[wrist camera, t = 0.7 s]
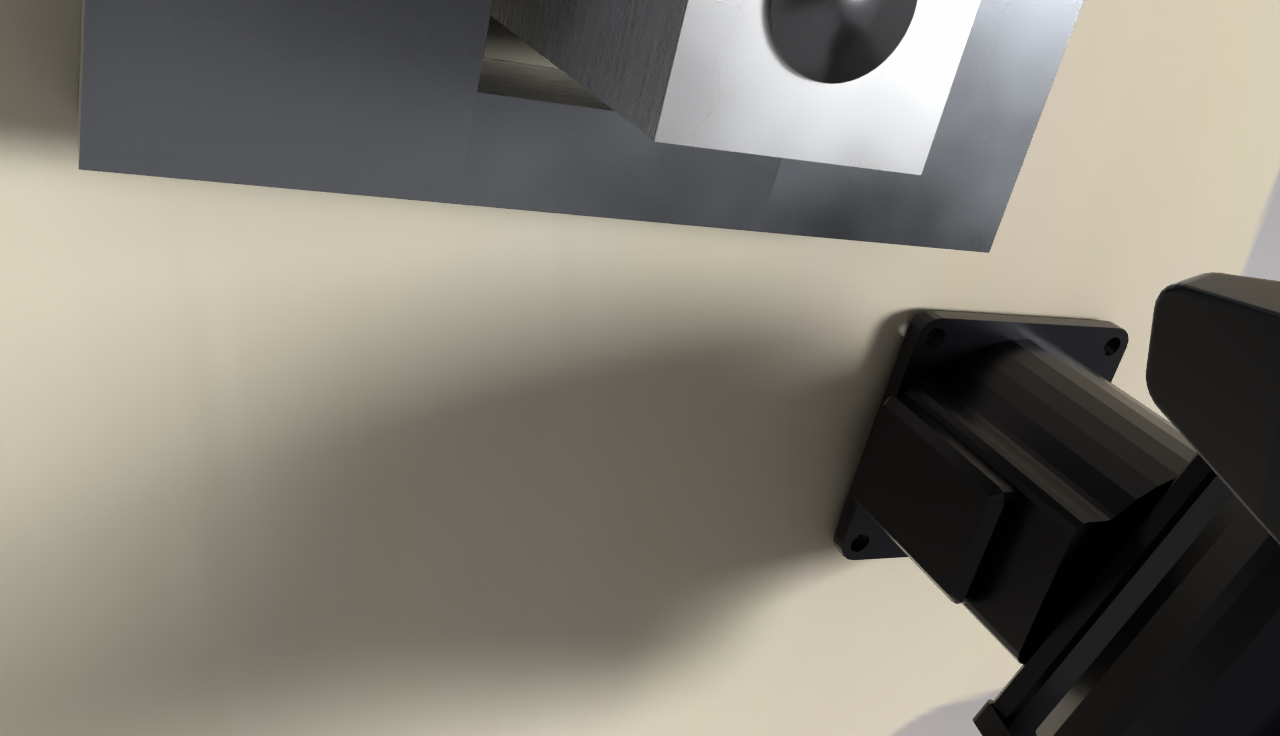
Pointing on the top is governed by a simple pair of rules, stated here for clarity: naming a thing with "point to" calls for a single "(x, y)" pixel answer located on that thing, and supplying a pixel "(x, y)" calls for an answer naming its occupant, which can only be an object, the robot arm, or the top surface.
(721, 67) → the small speaker box
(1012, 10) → the gray square hole plate
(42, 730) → the top surface
